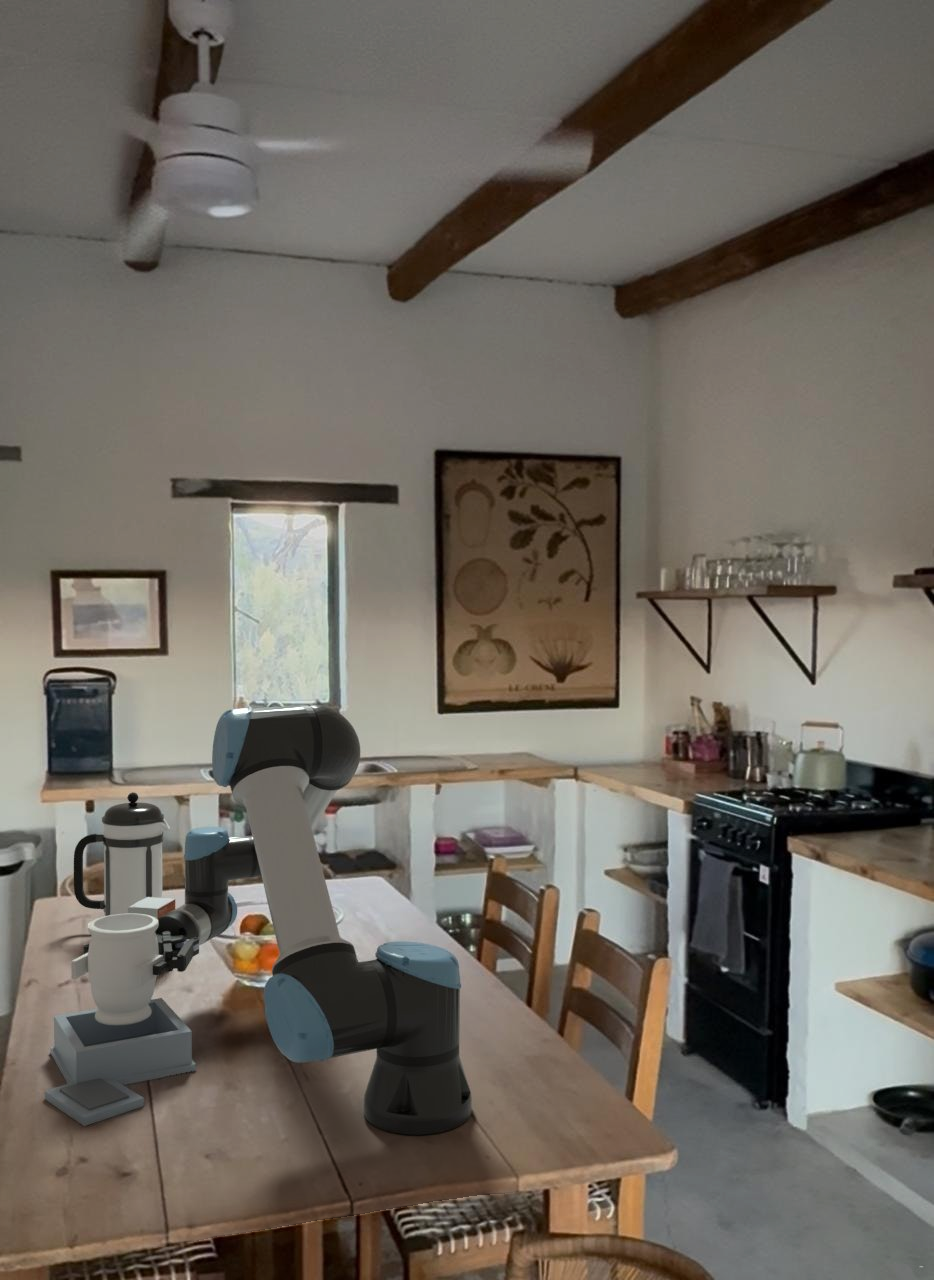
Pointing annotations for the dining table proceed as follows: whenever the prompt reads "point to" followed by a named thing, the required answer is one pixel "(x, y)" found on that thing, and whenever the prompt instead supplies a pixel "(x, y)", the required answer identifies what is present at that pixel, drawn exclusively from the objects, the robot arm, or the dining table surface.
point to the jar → (121, 966)
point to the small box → (153, 906)
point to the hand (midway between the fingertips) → (105, 973)
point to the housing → (122, 1047)
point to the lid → (94, 1100)
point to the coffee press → (126, 856)
